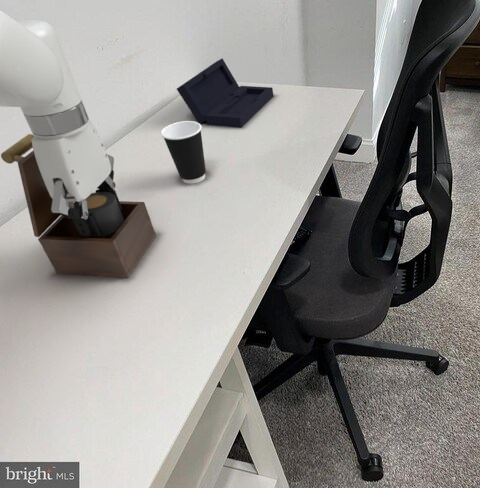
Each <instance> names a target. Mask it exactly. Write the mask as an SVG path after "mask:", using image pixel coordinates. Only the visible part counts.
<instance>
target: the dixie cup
mask: <svg viewBox="0 0 480 488" xmlns="http://www.w3.org/2000/svg"><path fill="white" fill-rule="evenodd" d="M202 128H203V127H202V124H201V123H200V124H199V123H198V121H194V120H183V121H177V122H174V123H171V124H168V125H166V126H165V127H163V128H162V129H161V131H160V136H161V138H163V140H164V143H165V145H166V147H167V150H168V151H169V154H170V156H171V159H172V161H173V163H174V166H175V168H176V170H177V174H178V175H179V177H180V179H181V180H182V182H183V183H185V184H191V185H192V184H197V183H200V182H202V181H203V180H205V178H206V173H207V169H206V161H205V153H204V145H203V137H202V136H203V135H202Z"/></svg>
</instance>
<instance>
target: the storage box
mask: <svg viewBox="0 0 480 488" xmlns="http://www.w3.org/2000/svg"><path fill="white" fill-rule="evenodd" d="M176 91H177V92H178V94H179V95H180V97H181V99H182V100H183V102H184V104H185V105H186V106H187V108H188V109H189V111H190V112H191V114H192V115H193V117H194V118H195V120H196V122H197V123H199V124H200V125H201V124H202V123H205V122H206V125H208V126H217V127H219V126H220V127H231V128H243V127H244V126H245V125H246V124H247V123H248V122H249V121H250V120H251V119H252V118H253V117H254V116H255V115H256V114H257V113H258V112H259V111H260V110H261V109H262V108H263V107H265V105H267V103H268V102H269V101H270V100H271V99H272V98H274V89H273V86H272V87H270V86H249V85H239V84H238V82H237V80H236V78H235V77H234V75H233V74H232V72H231V70H230V68H229V67H228V65H227V64H226V61H225V60H224V59H223V58H222V57H221V58H220V59H218V60H217V61H215V62H213V63H212V64H210V65H209V66H208V67H206V68H205V69H203V70H202V71H200V72H198V73H197V74H196V75H194V76H193V77H191V78H189V79H188V80H187V81H186V82H184V83H183V84H181V85H179V87H177V88H176Z"/></svg>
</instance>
